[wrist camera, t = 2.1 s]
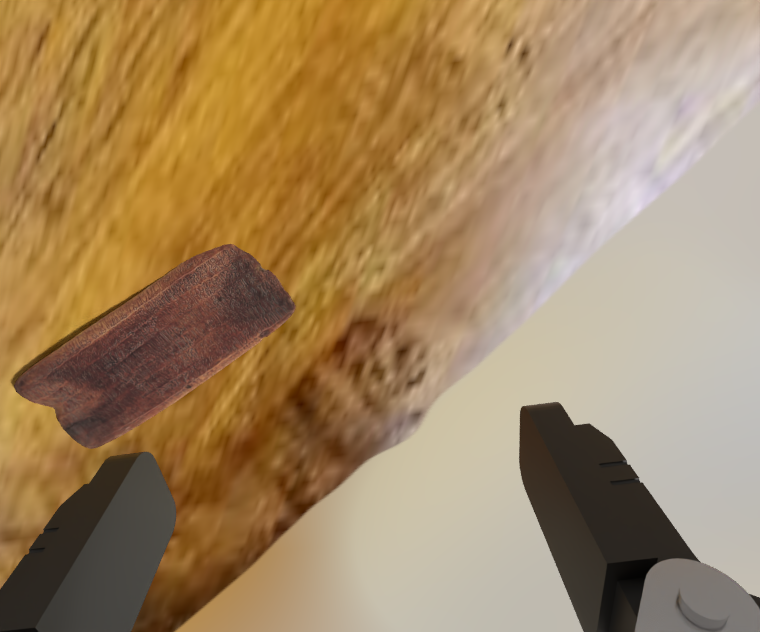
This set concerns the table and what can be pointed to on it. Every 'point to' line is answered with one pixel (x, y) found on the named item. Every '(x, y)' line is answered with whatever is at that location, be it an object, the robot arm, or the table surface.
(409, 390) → the table surface
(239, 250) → the wooden tablet
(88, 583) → the robot arm
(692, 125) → the table surface
